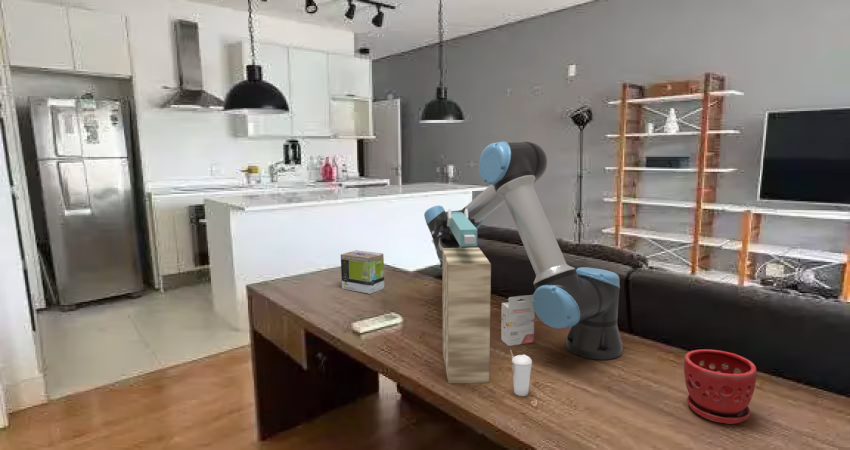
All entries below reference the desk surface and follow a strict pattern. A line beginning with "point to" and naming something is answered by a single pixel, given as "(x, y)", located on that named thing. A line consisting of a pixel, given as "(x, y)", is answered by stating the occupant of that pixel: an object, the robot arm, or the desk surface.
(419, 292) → the desk surface
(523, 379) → the milkshake
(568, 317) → the robot arm
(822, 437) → the desk surface
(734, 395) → the plant pot
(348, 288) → the tea box
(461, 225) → the teal rounded-top bar
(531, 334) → the ink cartridge box
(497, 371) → the desk surface
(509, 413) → the desk surface
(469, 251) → the stand
